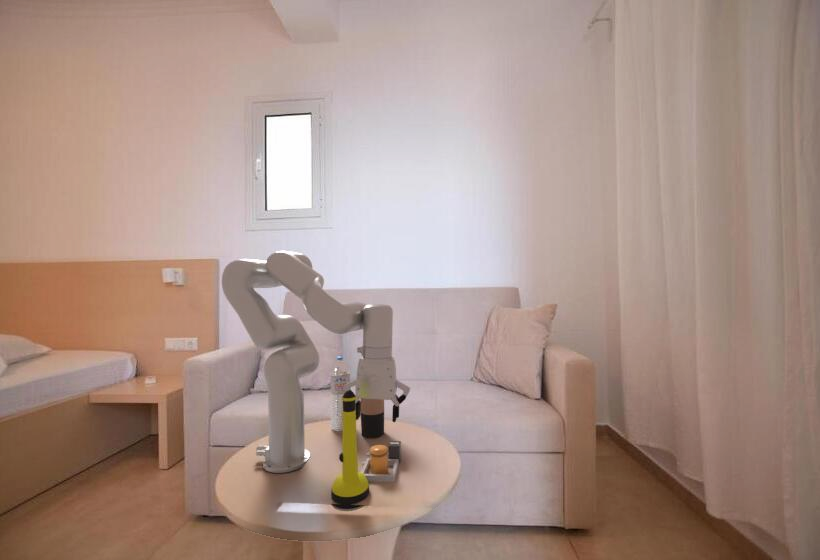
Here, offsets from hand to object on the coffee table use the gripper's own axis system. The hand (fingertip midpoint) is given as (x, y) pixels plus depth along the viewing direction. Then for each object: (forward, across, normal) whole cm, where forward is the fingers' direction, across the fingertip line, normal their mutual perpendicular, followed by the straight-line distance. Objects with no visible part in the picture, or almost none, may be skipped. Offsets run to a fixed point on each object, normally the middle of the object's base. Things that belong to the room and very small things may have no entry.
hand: (376, 419), depth 91 cm
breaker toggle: (+13, +4, +6) cm, 15 cm away
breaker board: (+15, -1, +2) cm, 15 cm away
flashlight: (+15, -4, -10) cm, 18 cm away
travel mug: (+15, -5, +23) cm, 28 cm away
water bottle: (+16, -17, +28) cm, 36 cm away
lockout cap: (+13, +1, 0) cm, 13 cm away
